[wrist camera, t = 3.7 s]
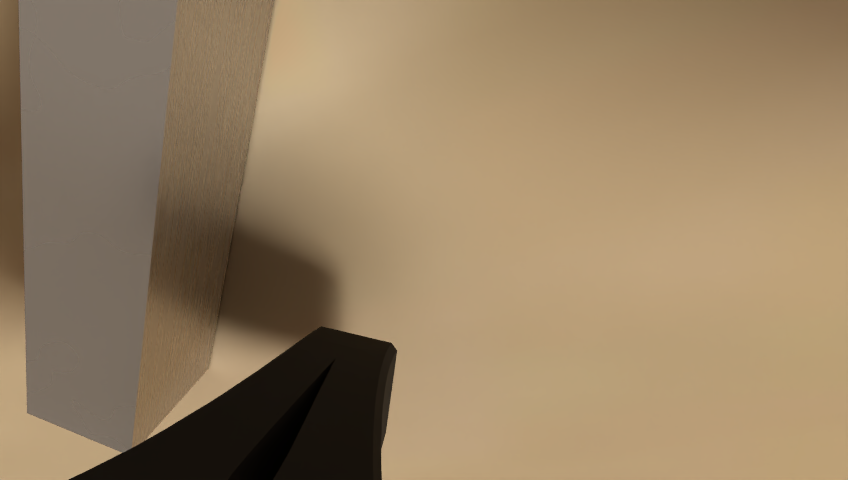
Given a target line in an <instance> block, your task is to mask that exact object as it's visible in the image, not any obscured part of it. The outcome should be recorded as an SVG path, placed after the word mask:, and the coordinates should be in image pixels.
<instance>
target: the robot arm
mask: <svg viewBox="0 0 848 480" xmlns="http://www.w3.org/2000/svg"><path fill="white" fill-rule="evenodd" d="M396 354H397V350H396V349H395V347H394V346H393V344H392V343H389V342H385V341H381V340H376V339H372V338H368V337H364V336H359V335H355V334H351V333H347V332H343V331H338V330H334V329H330V328H326V327H319V328H318V329H316V330H315V331H313V332H312V333H310V334H309V335H307V336H306V337H304V338H303V339H302V340H300V341H299V342H297V343H296V344H295V345H293V346H292V347H291V348H289V349H288V350H286V351H285V352H284V353H282V354H281V355H279V356H278V357H277V358H275V359H274V360H272V361H271V362H269V363H268V364H267V365H265V366H264V367H262V368H261V369H259V370H258V371H257V372H255V373H254V374H252V375H251V376H249V377H248V378H246V379H245V380H243V381H242V382H240V383H239V384H237V385H236V386H234V387H233V388H231V389H230V390H228V391H227V392H225V393H224V394H222V395H221V396H219V397H217V398H216V399H214V400H213V401H211V402H210V403H208V404H206V405H205V406H203V407H201V408H200V409H198V410H196V411H195V412H193V413H191V414H190V415H188V416H186V417H185V418H183V419H181V420H180V421H178V422H177V423H175V424H173V425H172V426H170V427H168V428H167V429H165V430H163V431H161V432H160V433H158V434H156V435H154V436H153V437H151V438H149V439H147V440H145V441H144V442H142V443H140V444H138V445H136V446H135V447H133V448H131V449H129V450H127V451H125V452H123V453H121V454H119V455H118V456H116V457H114V458H112V459H110V460H108V461H106V462H104V463H102V464H100V465H98V466H96V467H94V468H92V469H90V470H88V471H86V472H84V473H82V474H79V475H77V476H75V477H73V478H71V479H69V480H382V475H381V448H382V444H383V441H384V437H385V433H386V427H387V420H388V412H389V405H390V398H391V391H392V383H393V376H394V369H395V362H396Z"/></svg>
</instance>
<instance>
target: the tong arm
mask: <svg viewBox="0 0 848 480" xmlns="http://www.w3.org/2000/svg"><path fill="white" fill-rule="evenodd" d="M18 1H19V48H20V96H21V143H22V190H23V238H24V285H25V332H26V380H27V413H28V414H31V415H33V416H36V417H38V418H40V419H43V420H45V421H48V422H50V423H52V424H55V425H57V426H60V427H62V428H65V429H67V430H69V431H72V432H74V433H77V434H79V435H81V436H84V437H86V438H89V439H91V440H93V441H96V442H98V443H101V444H103V445H105V446H108V447H110V448H113V449H115V450H117V451H120V452H122V453H123V452H125V451H127V450H129V449H131V448H133V447H135V446H136V445H138V444H140V443H142V442H144V441H145V440H146V438H147V437H148V436H149V435H150V434H151V433H152V432H153V431H154V429H155V428H156V427H157V426H158V425H159V424H160V423H161V422H162V420H163V419H164V418H165V417H166V416H167V415H168V414H169V413H170V411H171V410H172V409H173V408H174V407H175V406H176V405H177V404H178V402H179V401H180V400H181V399H182V398H183V397H184V396H185V394H186V393H187V392H188V391H189V390H190V389H191V388H192V387H193V385H194V384H195V383H196V382H197V381H198V380H199V379H200V378H201V376H202V375H203V374H204V373H205V372H206V371H207V370H208V369H209V364H210V358H211V353H212V347H213V341H214V336H215V330H216V325H217V319H218V313H219V308H220V302H221V296H222V291H223V285H224V280H225V274H226V268H227V263H228V257H229V251H230V246H231V240H232V235H233V229H234V223H235V218H236V212H237V207H238V201H239V195H240V190H241V184H242V178H243V173H244V167H245V162H246V156H247V150H248V145H249V139H250V133H251V128H252V122H253V117H254V111H255V105H256V100H257V94H258V88H259V83H260V77H261V72H262V66H263V60H264V55H265V49H266V43H267V38H268V32H269V27H270V21H271V15H272V10H273V4H274V0H18Z"/></svg>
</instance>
